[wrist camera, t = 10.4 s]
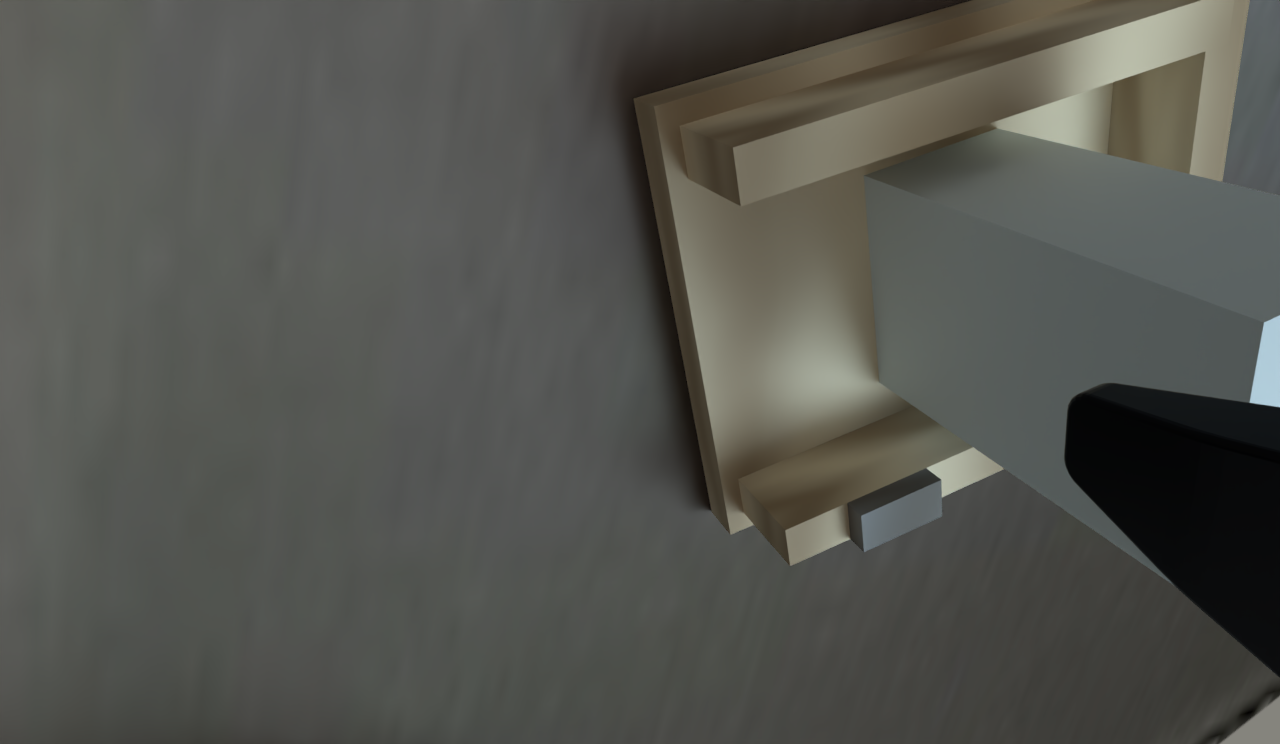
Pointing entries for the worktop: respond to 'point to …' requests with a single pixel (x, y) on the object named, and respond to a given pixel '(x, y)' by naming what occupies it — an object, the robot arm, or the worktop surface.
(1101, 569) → the worktop surface
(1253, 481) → the robot arm
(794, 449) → the wooden tray
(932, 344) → the pale blue box
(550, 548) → the worktop surface
